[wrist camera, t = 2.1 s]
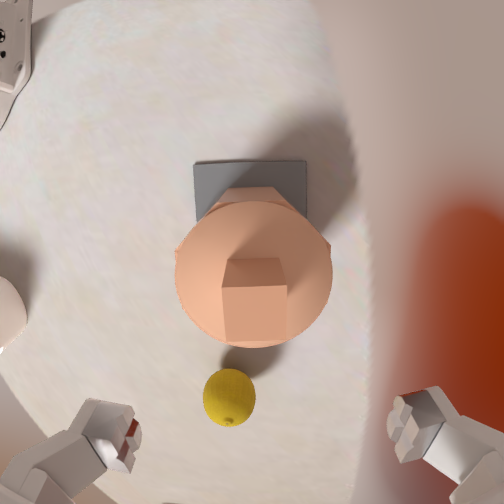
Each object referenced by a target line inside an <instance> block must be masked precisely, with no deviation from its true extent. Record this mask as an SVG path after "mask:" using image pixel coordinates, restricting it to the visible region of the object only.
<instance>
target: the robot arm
mask: <svg viewBox="0 0 504 504" xmlns="http://www.w3.org/2000/svg"><path fill="white" fill-rule="evenodd" d="M32 3H33V0H7V1H5V2H0V129H1V127H2V125H3V124H4V122H5V120H6V118H7V115H8V113H9V111H10V108H11V106H12V104H13V101H14V99H15V98H16V96H17V95H18V93H19V92H20V91H21V89H22V88H23V87H24V86H25V84H26V83H27V81H28V79H29V77H30V74H31V59H30V40H31V16H32ZM393 406H394V409H393V411H391V412H390V413H389V416H388V419H387V432H388V435H389V437H390V439H391V440H392V441H394V442H396V446H395V449H394V450H395V452H396V454H397V457H398V459H399V461H400V463H405V462H409V461H412V460H415V459H419V458H422V457H423V459H424V460H426V461H427V462H428V463H430V464H431V465H433V466H434V467H435V468H437V469H438V470H440V471H441V472H442V473H444V474H445V475H447V476H448V477H449V478H451V479H452V480H454V481H455V482H456V483H458V484H459V486H458V487H457V488H456V489H455V490H454V492H452V494H451V495H450V501H451V503H452V504H504V433H502V432H500V431H497V430H495V429H493V428H490V427H488V426H486V425H484V424H481V423H479V422H477V421H475V420H473V419H470V418H468V417H466V416H464V415H463V416H460V415H459V414H458V412H457V411H456V410H455V408H454V407H453V405H452V404H451V402H450V401H449V400H448V398H447V397H446V395H445V394H444V392H443V391H442V390H441V388H440V387H438V386H434V387H430V388H426V389H423V390H418V391H414V392H410V393H406V394H402V395H398V396H397V397H396V398H395V399H394V402H393ZM134 414H135V413H134V410H133V408H132V406H129V405H123V404H118V403H112V402H107V401H101V400H97V399H92V398H89V399H87V400H85V402H84V404H83V405H82V407H81V409H80V410H79V412H78V414H77V415H76V417H75V419H74V420H73V422H72V424H71V425H70V427H69V429H68V430H67V431H66V430H63V431H61V432H59V433H57V434H55V435H53V436H51V437H50V438H48V439H46V440H44V441H42V442H40V443H38V444H36V445H34V446H32V447H30V448H28V449H27V450H25V451H23V452H21V453H19V454H17V455H15V456H13V458H12V459H11V461H10V463H9V464H8V466H7V468H6V469H5V471H4V473H3V474H2V476H1V478H0V504H76V503H75V502H74V501H73V500H72V498H74V497H75V496H76V495H77V494H78V493H80V492H81V491H82V490H84V489H85V488H86V487H87V486H89V485H90V484H91V483H92V482H94V481H95V480H96V479H97V478H98V477H100V476H101V475H102V474H103V473H105V472H106V471H107V469H110V470H114V471H119V472H124V473H129V474H131V471H132V468H133V465H134V462H135V459H136V458H135V456H134V454H133V452H135V451H136V450H137V449H139V447H140V444H141V438H142V432H141V427H140V424H139V422H137V421H136V420H135V419H134V418H133V417H134Z"/></svg>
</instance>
